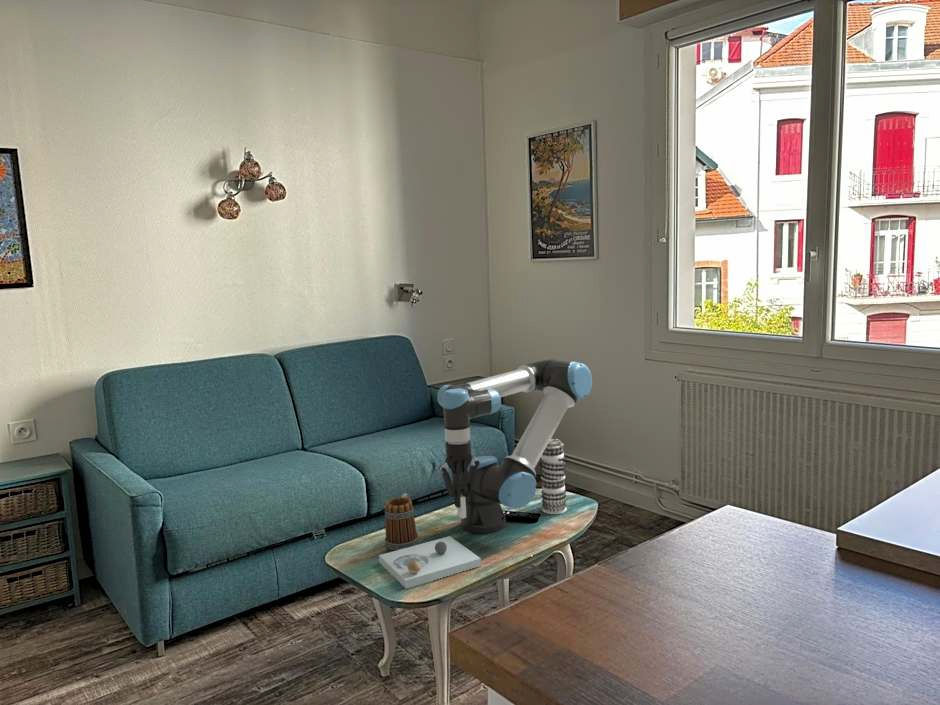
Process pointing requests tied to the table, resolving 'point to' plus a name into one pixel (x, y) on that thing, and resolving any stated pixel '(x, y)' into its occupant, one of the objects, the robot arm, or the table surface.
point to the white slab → (429, 562)
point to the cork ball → (414, 566)
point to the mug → (400, 524)
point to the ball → (440, 547)
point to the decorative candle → (553, 478)
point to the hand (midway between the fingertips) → (462, 516)
